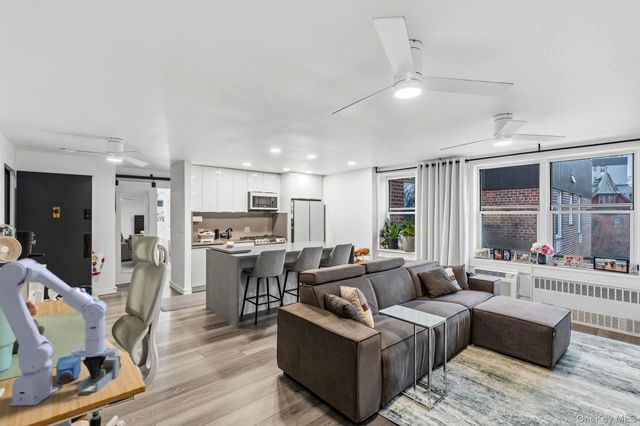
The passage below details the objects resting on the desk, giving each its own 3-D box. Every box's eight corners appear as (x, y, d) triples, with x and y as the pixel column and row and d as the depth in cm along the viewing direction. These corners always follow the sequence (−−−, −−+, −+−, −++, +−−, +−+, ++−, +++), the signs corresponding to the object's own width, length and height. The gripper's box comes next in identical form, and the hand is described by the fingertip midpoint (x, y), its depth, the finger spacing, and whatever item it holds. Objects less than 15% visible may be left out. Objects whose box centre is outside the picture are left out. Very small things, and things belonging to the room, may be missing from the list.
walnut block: (113, 371, 115) (113, 360, 115) (102, 372, 115) (102, 360, 115) (120, 366, 119) (120, 355, 119) (109, 366, 119) (109, 355, 119)
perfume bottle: (80, 353, 118) (76, 367, 108) (80, 370, 118) (76, 385, 108) (59, 357, 115) (53, 371, 105) (59, 374, 115) (53, 390, 105)
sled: (103, 382, 109) (103, 370, 109) (92, 382, 109) (92, 370, 109) (121, 367, 119) (121, 357, 119) (110, 368, 119) (110, 357, 119)
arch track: (96, 394, 102) (96, 374, 102) (70, 395, 102) (71, 374, 102) (125, 370, 118) (125, 352, 118) (103, 370, 118) (103, 352, 118)
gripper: (123, 333, 112) (123, 371, 112) (82, 333, 112) (81, 372, 112) (111, 341, 105) (111, 382, 105) (66, 341, 105) (66, 382, 105)
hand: (95, 377), depth 108 cm, fingers closed, pressing on sled
